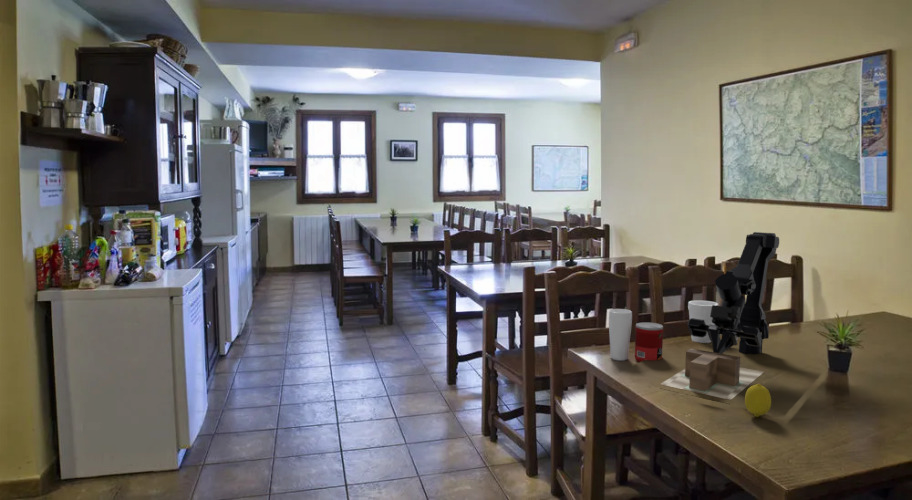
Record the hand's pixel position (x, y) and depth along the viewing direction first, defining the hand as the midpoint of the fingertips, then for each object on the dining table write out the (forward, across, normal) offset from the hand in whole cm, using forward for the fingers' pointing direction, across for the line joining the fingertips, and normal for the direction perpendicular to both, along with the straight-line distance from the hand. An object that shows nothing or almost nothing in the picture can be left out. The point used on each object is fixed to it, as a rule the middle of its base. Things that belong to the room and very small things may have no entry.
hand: (715, 357), depth 171 cm
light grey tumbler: (+3, -30, +7) cm, 31 cm away
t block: (+9, 0, -1) cm, 9 cm away
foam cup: (-24, -18, +34) cm, 46 cm away
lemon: (+19, +16, -9) cm, 26 cm away
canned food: (0, -22, +10) cm, 24 cm away
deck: (+5, 0, +4) cm, 7 cm away
